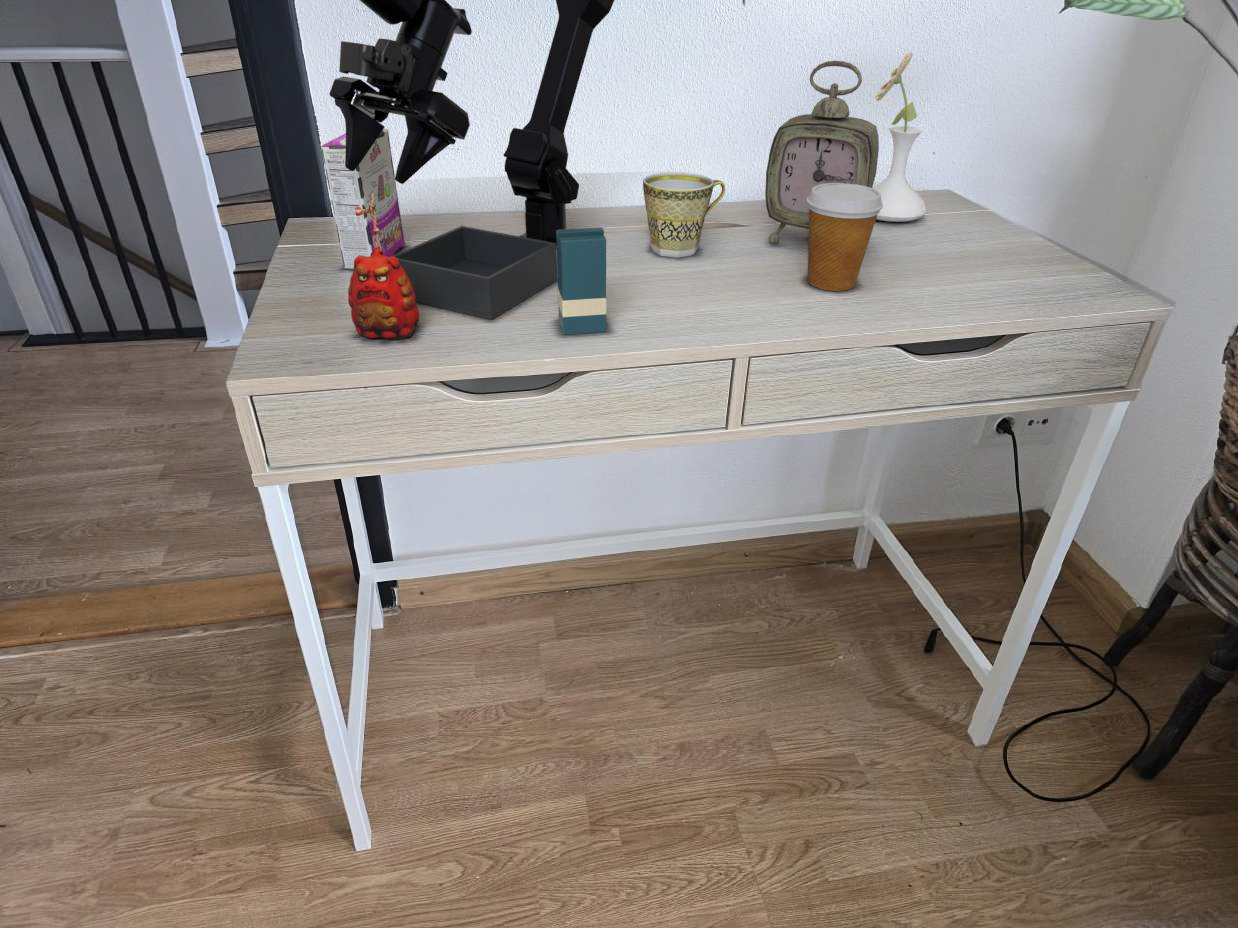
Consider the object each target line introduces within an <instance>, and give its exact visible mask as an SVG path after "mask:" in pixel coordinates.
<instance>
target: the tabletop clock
mask: <svg viewBox="0 0 1238 928" xmlns="http://www.w3.org/2000/svg"><path fill="white" fill-rule="evenodd" d="M828 67H838V68H839V67H841V68H846V69H849V70H851V71H853V72H854V73H855V75H856V77H857V79H858V81H857V84H856V85H855V86H852V87H851V88H847V89H839V84H838V83H837V82H835V83H832V84H831V85H830V88H825V87H821V86H819V85H818V84H817V83H816V82H815V80H814V76H815V75H816V73H818V72H819V71H820V70H821V69H824V68H828ZM809 82H810V86H811V87H812V88H813V89H814V91H816V92H818V93H820V94H822V95H827V96H828V97H823V98H821V99H820V100H819V101H817V103H816V104H815V105H814V107H813V109H812V111H811V113H805V114H800V115H796V116H793V117H791V118H788V120H787V121H785V122H784V123H782V125H780V126H779V127H778V129H777V131H776V133H775V135H774V136H773V139H772V142H771V146H770V149H769V155H768V160H767V166H766V171H765V189H764V190H765V192H764V196H765V197H764V198H765V207H766V212H767V214H768V218H770V219H771V220H773V221H775V222H777V223H779V226H778V228H777V229H776V231H775V232H771V233H769V235H768V241H769V243H770V244H772V245H775V244H778V243H779V241H780V233H781V232H782V231H783V229H784V228H785V227H786V226H791V227H796V228H801V229H806V230H809V208H808V203H807V201H806V200H807V197H808V196H810V193H811V190H812V188H813V187H814V186H817V185H821V184H827V183H846V184H856V185H862V186H866V187H870V188H873V187H874V184H875V178H876V175H877V170H878V159H879V150H880V139H879V132H878V128H877V125H875V124H874V123H872V122H871V121H869V120H866V119H863V118H860V117H854V116H850V108H849V105H848V103H847V102H846V101H845V100H844V99H843V98H840V97H841V96H846V95H850V94H853V93H854V92H855V91H857V90H858V89H859V87H861V85H862V82H863V76H862V73H861V71H860V70H859V68H858V67H857V66H856V65H854V64H853V63H851V62H848V61H844V60H828V61H824V62H821V63H820V64H818V65H817V66H816V67H814V68H813V70H812V71H811V73H810V75H809ZM839 96H840V97H839Z"/></svg>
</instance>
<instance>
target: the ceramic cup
mask: <svg viewBox="0 0 1238 928" xmlns="http://www.w3.org/2000/svg"><path fill="white" fill-rule="evenodd" d="M718 185H720V187H721V192H720V194H719V195H718V197H717V198H715V200H714V201H713V202H712V203H710V202H711V198H712V194H713V190H714V188H715V187H716V186H718ZM642 189H643V197H644V205H645V210H646V217H647V225H648V231H649V240H650V247H651V251H652V252H653V253H655V254H657V255H659V256H660V257H669V258H677V259H679V258H684V257H685V258H686V257H690V256H694V255H695V253H696V252H697V251H698V249H699V245H700V240H701V236H702V232H703V227H704V223H705V219H706V216H707V215H708V214H709V213H710V211H711V210H712V209H713V208H714V207H715V206H716V205H717V204H718V203H719V202H720V201H721V200H722V199H723V197H724V196H725V193H726V185H725V184H724V181H722V180H719V179H712V178H711V177H708V176H706V175H704V174H703V175H702V174H698V173H694V172H693V173H692V172H683V171H669V172H668V171H667V172H658V173H653V174H650V175H647V176H644V177H643V179H642Z"/></svg>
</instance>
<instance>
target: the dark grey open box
mask: <svg viewBox="0 0 1238 928" xmlns="http://www.w3.org/2000/svg"><path fill="white" fill-rule="evenodd" d="M520 236H521V235H513V234H509V233H503V232H498V231H491V230H487V229H482V228H476V227H471V226H466V225H460V226H458V227H456V228H453V229H451V230H449V231H447V232H444V233H442V234H439V235H437V236H435V237H432V238H430V239H427V240H425V241H423V242H421V243H418V244H417V245H413V246H412V247H409V248H407V249H404V250H402V251H400V252H397V253H395V254H394V255H393V256H394V257H396V258H398V261H399V265H400V266H401V267H402V268H403V269H404V271H405V273H406V274H407V276H408V278H409V280H410V282H411V284H412V287H413V290H414V293H415V299H416V303H418V304H421V305H422V304H423V305H427V306H430V307H431V306H432V307H435V308H439V309H444V310H449V311H451V312H452V311H453V312H457V313H460V314H465V315H470V316H473V317H478V318H482V319H487V320H491V321H492V320H494V319H496V318H498V317H499V316H501V315H502V314H504V313H506V312H507V311H509V310H511V309H512V308H514V307H516V306H517V305H519V304H521V303H522V302H524V301H526V300H527V299H529V298H531V297H532V296H534V295H536V294H538V293H539V292H541V291H542V290H544V289H546V288H548V287H549V286H551V285H553V284H554V283H556V282H558V275H557V246H556V243H552V242H547V241H541V240H536V239H530V238H525V237H520ZM393 256H391V257H393Z"/></svg>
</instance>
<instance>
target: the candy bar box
mask: <svg viewBox="0 0 1238 928" xmlns="http://www.w3.org/2000/svg"><path fill="white" fill-rule="evenodd" d="M389 134H390V133H389V129H388V128H384V129H383V131H382V132H381V134H380V135H379V136H378V138H377V139H376V141H375V142H374V144H373V145H372V147H371V148H370V150H369V151H368V153H367V154H366V155H365V157H364V158H363V160H362V161H361V163H360V164H359V165H358V166H357V168H356V169H355V170H354V171H351V170H349V169H347V168H346V167H345V151H346V132H345V133H343V134H341V135H339V136H337V137H335V138H334V139H332V140H330V141H328V142H325V143H323V144H321V145H320V148H321V153H322V160H323V163H324V164H323V165H324V170H325V175H326V180H327V185H328V190H329V196H330V201H331V205H332V210H333V217H334V222H335V226H336V232H337V237H338V243H339V248H340V249H339V250H340V254H341V259H342V264H343V269H345V270H350V271H351V270H352V271H354V260H355V259H356V257H357V256H359V255H361V256H367V257H368V256H372V255H373V254H374V252H375V251H374V244H375V235H374V232H373V229H374V226H373V222H372V218H371V214H370V213H366V214H362V215H360V216H356V211H355V208H356V207H357V206H358V207H360V208H361V209H366V210H367V209H369V204H370V203H371V201H372V200H371V199H372V198H371V195H370V194H371V193H372V194H373V195H374V204H373V205H375V204H376V206H375V208H376V219H377V228H378V229H379V230H380V235H379V237H378V239H379V242H380V245H381V248H382V251H383V253H384V255H385V256H387V257H391V256H393V255H395V254H397V253H399V251H400V250H401V249H402V248H404V247H405V245H406V243H405V237H404V231H403V223H402V216H401V210H400V203H399V197H398V190H397V181H396V180H395V176H396V173H395V168H394V162H393V155H392V148H391V141H390V135H389Z"/></svg>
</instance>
